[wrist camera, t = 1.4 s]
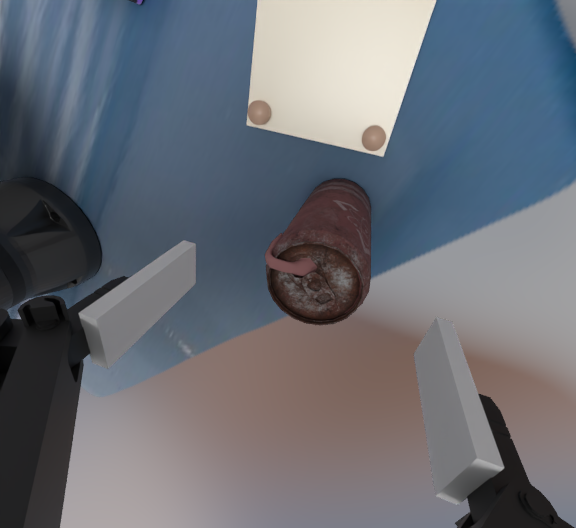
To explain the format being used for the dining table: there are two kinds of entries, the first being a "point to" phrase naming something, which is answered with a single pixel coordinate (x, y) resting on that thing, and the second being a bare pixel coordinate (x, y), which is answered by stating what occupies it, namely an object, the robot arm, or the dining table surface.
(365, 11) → the stud plate
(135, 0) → the candy box
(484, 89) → the dining table surface
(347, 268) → the can
